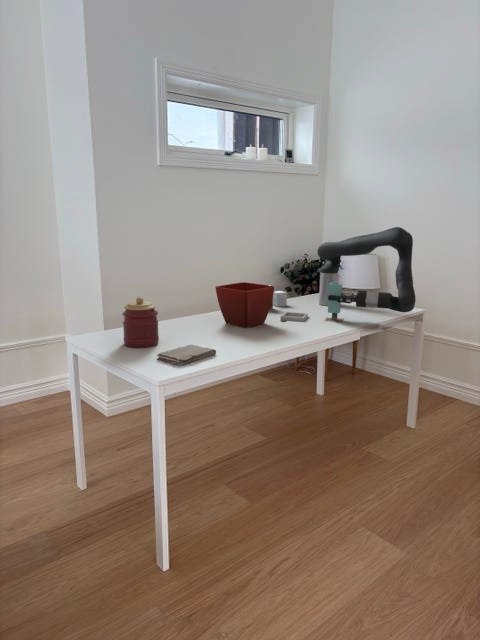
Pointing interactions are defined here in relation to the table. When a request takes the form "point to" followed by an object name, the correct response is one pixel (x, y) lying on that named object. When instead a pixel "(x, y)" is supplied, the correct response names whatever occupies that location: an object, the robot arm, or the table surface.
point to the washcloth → (185, 355)
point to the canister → (140, 324)
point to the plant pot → (244, 303)
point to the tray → (293, 316)
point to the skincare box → (279, 298)
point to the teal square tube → (335, 290)
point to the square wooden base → (334, 318)
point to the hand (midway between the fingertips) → (329, 296)
